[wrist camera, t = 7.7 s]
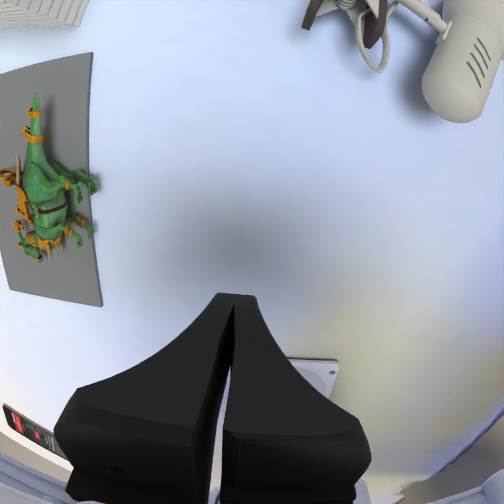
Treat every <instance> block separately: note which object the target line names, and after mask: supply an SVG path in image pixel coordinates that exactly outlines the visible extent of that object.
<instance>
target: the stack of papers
mask: <svg viewBox="0 0 504 504" xmlns="http://www.w3.org/2000/svg"><path fill="white" fill-rule="evenodd" d="M88 2H89V0H0V28H9V27H28V26H73V27H79V25H80V22H81V20H82V17H83V15H84V12H85V9H86V7H87V5H88Z"/></svg>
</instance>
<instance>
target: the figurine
mask: <svg viewBox="0 0 504 504" xmlns="http://www.w3.org/2000/svg"><path fill="white" fill-rule="evenodd" d="M31 110H32V111H31ZM27 117H29V118H32V119H31V126H30V127H28V126H25V127H24V130H23V132H22V136H23V137H25V139H26V140H28V146H27V153H26V157H25V162H24V170H23V171H21V163H20V159H19V156H18V155H17V153H16V152H15V153H16V158H17V170H16V172H15V170H13V169H10V168H3V169H1V170H0V179H2V180H4V181H3V186H4V187H9V188H10V187H11V185H15V186H16V192H17V194H18V203H19V205H17V206H15V207H16V211H17V215H19V214H20V215H21V217H22V218H24V219H25V220H27V221H28V222H29V224H30V225H33V227H34V229H35V230H33V231H30V232H27V234H26V236H25V239H24V238H23V237H22V234H21V230H24V225H23V224H22V223H21V221H20V220H18V221H17V218H16V219H15V223H13V227H14V229H15V230H16V233H17V234H18V236H19V238H20V240H21V242H19V243H18V247H23V250H24V253H25V254H26V255H28V256H32V257H33V258H34V259H35V261H36V262H38V263H42V261H43V255H42V254H40V253H39V248H40V249H44V250H47V253H48V256H49V262H50V260H51V257H52V249H54V248H55V247H56V246H57V245H59V246H60V247H61V251H62V249H63V243H62V241H61V234H62V231H64V232H65V234H66V235H69V237H74V238H75V239H76V247H77V248H78V247H79V246H80V247H82V245H83V242H82V238H81V236H80V235H79V234H77V233H76V232H75V230H74V229H73V228H71V227H69V225H70V224H71V223H72V222H75V223H76V225H78V226H80V228H85V229H87V231H88V238H89V239H90V238H91V233H92V234H93V233H94V231H93V230H92V228H91V227H90V226H88V225H87V224H86V222H85V221H84V220H83V219H81V218H80V217H79V216H75V214H74V213H72V214H71V215H69V216H66V213H67V207H68V205H67V201H66V198H65V195H64V192H66V191H68V190H74V191H75V201H74V204H75V205H77V204H80V203H81V201H82V200H83V196H82V194H81V189H80V188H79V186H81V185H82V183H84V184H85V185H86V186H87V187H88V196H90V195H93V194H94V192H95V193H96V192H97V188H96V184H95V183H94V182H93V181H92V179H94V176H93V175H92V176H90V177H87V176H86V175H84V174H83V173H82V172H81V171H79V170H78V169H77V168H76V169H75V170H73V171H72V172H71V174H70V173H68V172H67V171H65V170H64V169H63V168H61V167H60V166H59V165H57V164H56V163H54V162H52V161H50V160H48V159H47V157H46V154H45V152H44V147H43V141H44V137H43V133H42V131H41V119H40V117H41V112H40V108H39V95H38V93H37V92H36V93H35V96H34V99H33V107H31V108H28V112H27ZM27 130H30V132H29V131H27ZM5 173H11V174H9V175H8V176H4V175H2V174H5ZM77 180H80V181H81V182H82V183H81V182H79V183H77V184H75V183H76V181H77ZM21 244H22V245H21Z"/></svg>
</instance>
